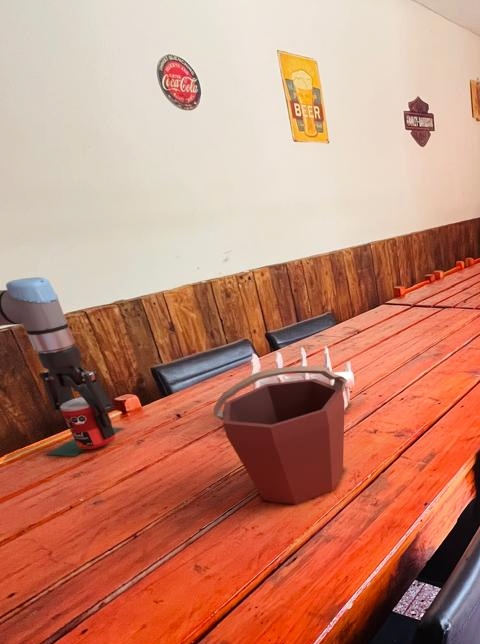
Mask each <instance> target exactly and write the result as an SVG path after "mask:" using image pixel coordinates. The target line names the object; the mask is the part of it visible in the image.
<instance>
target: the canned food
mask: <svg viewBox="0 0 480 644" xmlns="http://www.w3.org/2000/svg"><path fill="white" fill-rule="evenodd" d="M60 408H61V411H62V413H63V414H62V413H61V414H62V416H63V418H64V420H65V422H66V424H67V426H68V428H69V431H70V433H71V435H72V437H73V440H74V439H75V441H76V444H77V445H78V446H79V447H80V448H81V449H86V450H91V449H92V450H93V449H97V448H101V447H103V446H106V445H108V444H111V442H113V441H114V440H115V438H116V434H115V435H113V436H112V437H110V438H108V439H107V440H104V439H103V437H102V434H101V432H100V430H99V427H98V425H97V423H96V420H95V418H94V414H96V413H95V412H94V411H93V410H92V408H91V407H90V406H89V405H88V403H87V402H86V401H85V400H84V398H83V397H82V396H80V397H77V398H72V400H70V401H68V402H65V403H64V404H62V405H61V406H60ZM112 428H114V427H113V426H112Z"/></svg>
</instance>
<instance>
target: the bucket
mask: <svg viewBox="0 0 480 644" xmlns="http://www.w3.org/2000/svg"><path fill="white" fill-rule="evenodd" d="M332 372H333V371H332ZM332 372H330V371H329V370H327V369H326V368H324V367H323V365H307V366H301V365H298V366H297V365H295V366H283V368H270V369H266V370H263V371H262V370H261V371H260V372H258V373H255V374H253V375H252V374H251V375H250V376H248V377H246V378H244V379H243V380H241V381H239V382H237V383H236V384H234V385H233V386H231V387H230V388H229V389H227V390H225V391H224V392H222V394H221V395H220V397H219V399H218V400H217V402H216V403H215V404H214V407H213V413H212V415H213V416H214V418H216V419H219V420H221V421H222V425H223V429H224V432H225V434H226V435H225V436H226V438H227V440H228V441H229V443H230V445H231V447H232V448H233V450H234V452H235V454H236V455H237V457H238V458H239V459H238V460H240V462H241V464H242V465H243V468H244V469H245V471H246V472H247V474H248V476H249V477H250V479H251V481H252V483H253V484H254V486H255V488H256V490H257V491H258V493H259V495H260V496H261V498H262V500H263V501H269V502H274V503H282V504H289V505H298V504H301V503H303V502H306V501H308V500H311V499H314V498H316V497H318V496H321V495H324V494H327V493H329V492H331V491H333V490H334V488H335V486H336V484H337V483H338V481H339V479H340V477H341V475H342V473H343V471H344V449H345V448H344V447H345V446H344V445H345V444H344V443H345V411H344V406H345V402H344V397H343V391H344V388H345V385H346V382H347V380H346V379H345V378H343V377H342V376H340V375H337V374H335V373H336V372H333V373H332ZM299 373H309V374H322V375H324V376H325V377H327V378H328V379H330V380H333V379H334V384H333V385H330V384H327V383H325V382H322V381H319V380H317V379H308V380H299V381H290V382H281V383H273V384H265V385H263V386H261V387H259V388H257V389H254V388H253V389H251V390H250V391H248V392H245V393H244V394H241V395H239V396H236V397H234V396H235V395H237V394H238V393H239V392H240V391H243V389H246V388H247V387H249V386H251V385H252V384H253V383H254V382H256V381H258V380H260V379H264V378H268V377H276V376H277V375H282V374H285V375H288V374H289V375H291V374H299ZM232 397H234V398H232ZM230 398H232V399H230ZM229 399H230V400H229ZM227 400H228V401H227ZM223 406H224V407H223ZM222 408H223V410H221V409H222Z"/></svg>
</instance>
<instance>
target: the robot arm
mask: <svg viewBox="0 0 480 644" xmlns="http://www.w3.org/2000/svg"><path fill="white" fill-rule="evenodd" d="M5 288H6V289H2V290H1V289H0V327H3V326H14V325H15V326H17V325H23V327H24V330H25V332H26V333H27V337H28V338H29V341H30V343H31V345H32V348H33V350H34V351H35V352H37V357H38V360H39V362H40V364H41V366H42V368H43V369H44V370H45V371H42V372H39V373H38V376H39V377H40V379H41V381H42V382H43V384H44V388H45V391H46V395H47V397H48V401H49V404H50V406H51V410H52V411H54V412H56V411H57V412H59V413H60V414H62V415H63V413H62V411H61V408H60V406H61V405H62V404H64V403H65V402H68V401H70V400H73V391H75V392H77V393H78V394H79V395H80V397H83V398H84V400H85V401H86V402H87V403H88V405H89V406H90V407H91V408H92V410H93V411H94V412H95V413H96V414H94V418H95V420H96V423H97V425H98V427H99V430H100V432H101V434H102V437H103V439H104V440H107V439H108V438H110V437H112V436H113V435H115V436H116V433H115V432H114V430H113V428H114V427H113V425H112V420H111V417H110V415H109V413H108V412H110V411H111V410H113V409H114V405H113V403H112V402H111V401H112V400H110V398H109V396H108V394H107V393H106V391H105V389H104V387H103V384H101V382H100V380H99V375H98V372H97V371H96V370H90V371H87V370H85V368H84V367H83V366H82V365H81V362H82V361H83V357H82V354H81V351H80V349H79V347H78V346H77V345H76V340H75V337H74V335H73V333H72V330H71V328H70V326H69V323H68V322H67V319H66V316H65V315H64V312H63V309H62V306H61V303H60V301H59V297H58V294H57V293H56V291H55V290H54V288H53V286H52V284H51V282H50V280H48V279H47V278H46V277H39V276H36V277H35V276H34V277H28V278H27V277H25V278H19V279H14V280H10V281H8V282H7V283H5ZM72 389H73V391H72ZM112 427H113V428H112Z"/></svg>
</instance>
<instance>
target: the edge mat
mask: <svg viewBox="0 0 480 644" xmlns="http://www.w3.org/2000/svg"><path fill="white" fill-rule="evenodd" d="M113 430H114V432H115V434H116V433H117V432H119V431H120V430H122V429H121V428H114V427H113ZM86 450H87V449H81V448H80V447H79V446H78V445H77V444H76V441H75V439H74V438H73V439H72V440H70V441H68V442H67V443H65V444H63V445H61V446H60V447H58V448H56V449H54V450H52V451H50V452H49V453H47V456H60V457H61V456H63V457H76V456H78V455H80V454H81V453H83V452H84V451H86Z"/></svg>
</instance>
